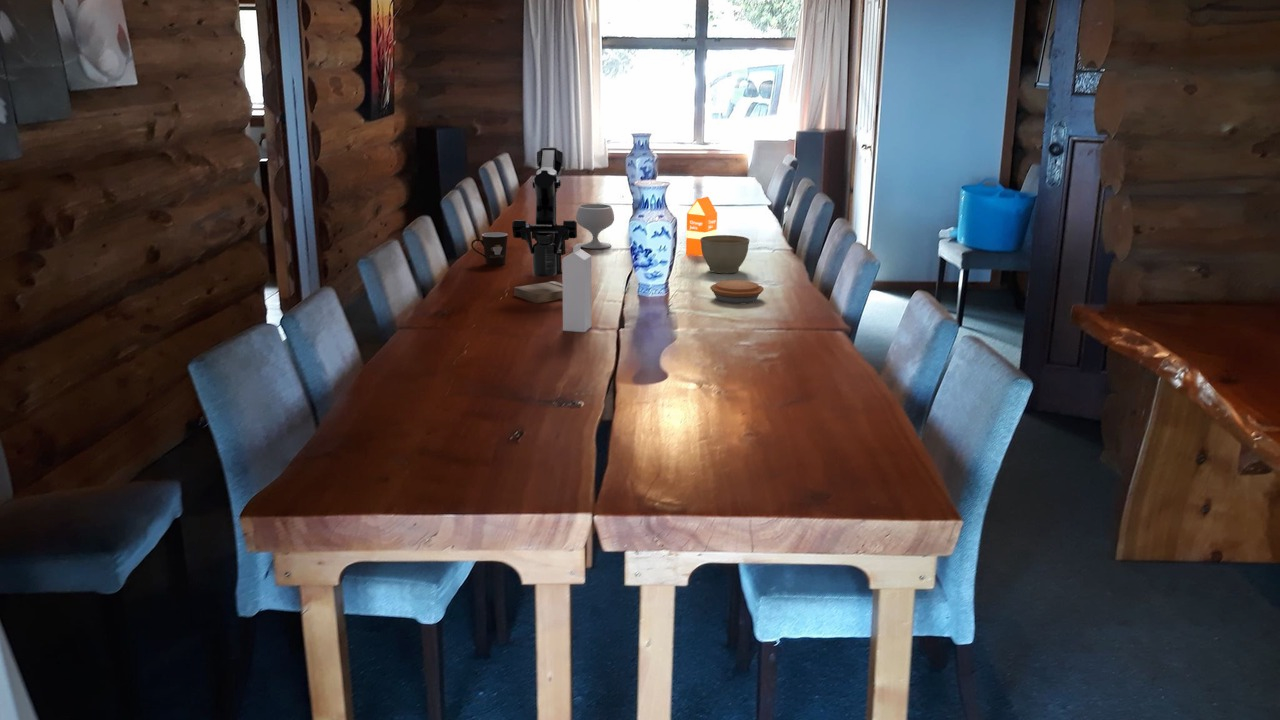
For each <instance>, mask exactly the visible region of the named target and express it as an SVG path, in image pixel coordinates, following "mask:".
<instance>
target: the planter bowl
mask: <svg viewBox="0 0 1280 720" xmlns="http://www.w3.org/2000/svg"><path fill="white" fill-rule="evenodd" d="M700 242H701V250H702V254H703V256H702V257H703V260H704V262H705V264H706V265H707V266H708V268H709V272H710V273H711V272H712V273H715V274H725V275H726V274H733V273H734V274H735V273H737V272H739V269H740V267H741V266H742V265H743V264H744V261H745V260H746V257H747V255H748V251H749V244H750V238H749V237H745V236H741V235H740V236H739V235H729V234H718V235H714V236H705V237H702V238H701V239H700Z"/></svg>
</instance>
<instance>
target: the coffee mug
mask: <svg viewBox="0 0 1280 720" xmlns="http://www.w3.org/2000/svg"><path fill="white" fill-rule="evenodd" d="M481 237H482V238H481V239H482V240H481V239H480V238H476V239H475V238H474V239H473V240H472V241H471V244H470V245H471V248H472V250H473V251H474V252H476V253H477V254H478V255H481V256H482V257H484V260H485V265H486V264H487V266H489V265H492V266H491V267H500V266H504V265H506V260H507V259H506V256H507V249H508V248H507V247H508V246H507V245H508V237H509V235H508V233H505V232H484V233H482V234H481ZM477 241H478V242H480V243H481V245H482V247H483V251H484V253H481V252H480V251H478V250H477V249H476V248H474V243H475V242H477Z"/></svg>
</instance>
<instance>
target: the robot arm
mask: <svg viewBox="0 0 1280 720" xmlns="http://www.w3.org/2000/svg"><path fill="white" fill-rule="evenodd" d="M536 166H537V167H538V168H539V169H537V170H536V171H535V172H536V173H535V176H533V177H532V178H533V179H532V189H534V192H535V196H536V198H535V199H536V200H535V219H534V220H535V221H534V224H531V223H529V222H527V220H526V219H514V220H513V221H512V223H511V226H512V227H511V229H512V235H513V238H515V239H521V240H523V241H525V242H526V243H527V246H528V249H529V251H530V254H531V255H533V239H534V241H536V234H538V233H551V234H552V239H553V240H552V243H554V244H555V246H556V275H558V274H562V256H563V255H566V241H568V240H569V239H577V238H578V223H577V220H576V219H575V220H569V219H567V220H565V219H564V220H563V221H562V222H563V223H562V224H560V225H559V224H557V193H558V190H559V189H560V188H561V186H562V180H561V179H560V175H561V174H562V168H563V167H564V153H563V152H562V151H561V150H558V148H557V147H556V146H543V147H540V150H538V151H537V152H536Z"/></svg>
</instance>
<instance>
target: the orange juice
mask: <svg viewBox="0 0 1280 720" xmlns="http://www.w3.org/2000/svg"><path fill="white" fill-rule="evenodd" d="M717 226H718V212H717V211H716V208H715V207H714V204H713V203H712V201H711V199H710V198H709V196H704V197H701V198H696V200H695V201H694V202H693V204H692V205H691V207H690V208H689V210H688V212H686V230H685V231H686V232H685V233H686V236H685V238H686V239H685V240H686V241H685V242H686V243H685V255H689V254H694V255H693V256H696V255H702V256H701V257H703V254H702V250H701V242H700V239H701V238H702V237H705V236H714V235H717V233H718V231H717V230H718V227H717Z"/></svg>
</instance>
